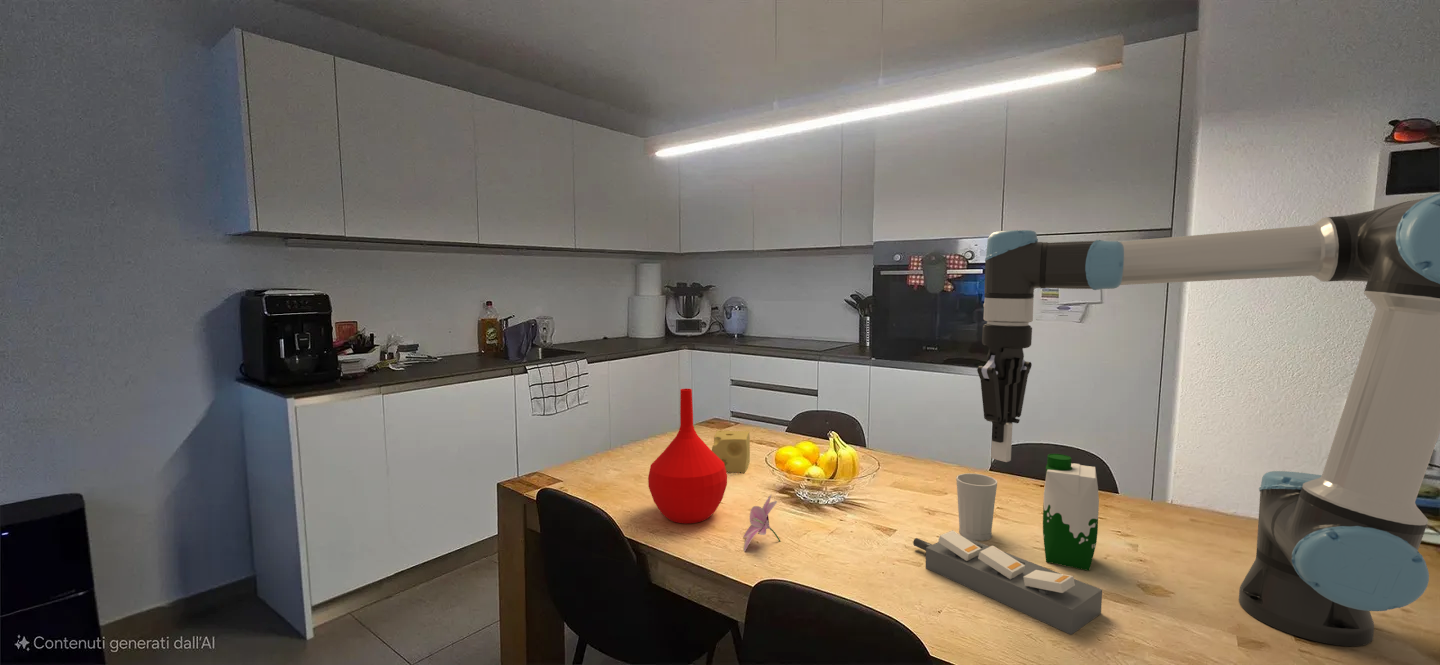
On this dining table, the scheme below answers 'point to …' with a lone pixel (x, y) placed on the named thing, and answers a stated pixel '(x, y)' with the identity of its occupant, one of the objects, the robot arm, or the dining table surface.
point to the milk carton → (1070, 512)
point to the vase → (687, 473)
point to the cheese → (733, 449)
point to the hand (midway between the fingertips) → (1000, 459)
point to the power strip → (1017, 588)
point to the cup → (976, 505)
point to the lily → (759, 521)
